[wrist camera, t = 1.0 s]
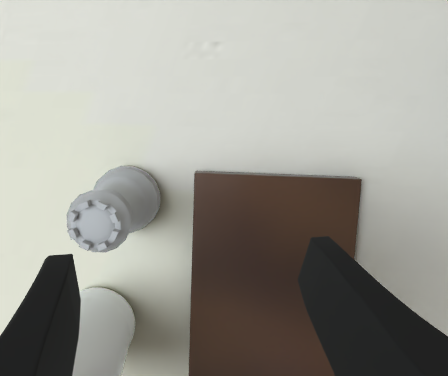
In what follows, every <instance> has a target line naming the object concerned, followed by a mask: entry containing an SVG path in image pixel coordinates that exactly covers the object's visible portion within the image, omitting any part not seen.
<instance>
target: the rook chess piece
mask: <svg viewBox="0 0 448 376" xmlns="http://www.w3.org/2000/svg"><path fill="white" fill-rule="evenodd" d="M159 207H160V191H159V189H158V186H157V184H156V181H155V180H154V179H153V178H152V177H151V176H150V175H149V174H148V173H147V172H146V171H143V170H141V169H139V168H137V167H134V166H119V167H117V168H114V169H111V170H109V171H108V172H107V173H105V174H104V175H103V176H102V177H101V178H100V179H99V180H98V181H97V182H96V184H95V187H94V189H93V190H91V191H89V192H86V193H83V194H81V195H79V196H78V197H77V198H76V199H75V200H74V201H73V202H72V203H71V205H70V208H69V210H68V213H67V228H68V230H67V231H68V233H69V236H70V238H71V240H72V239H74V240H75V241H76V242H77V243H78V244H79V245H80V246H79V247H80V248H83V249H85V250H87V251H88V250H90V251H92V252H107V251H110V250H113V249H115V248H117V247H118V246H119V245H121V244H122V243H123V242H124V241H125V240H126V238H127V235H128V233H132V232H134V231H137V230H140V229H142V228H144V227H145V226H146V225H147V224H148V223H150V222H151V221H152V220H153V219H154V218H155V216H156V214H157V212H158V210H159Z"/></svg>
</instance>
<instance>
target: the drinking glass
mask: <svg viewBox="0 0 448 376" xmlns="http://www.w3.org/2000/svg"><path fill="white" fill-rule="evenodd" d="M79 292H80V298H81V309H80V327H79V338H78V344H77V350H76V356H75V362H74V368H73V374H72V376H122V372H123V368H124V364H125V360H126V356H127V352H128V349H129V346H130V343H131V341H132V338H133V335H134V331H135V317H134V313H133V310H132V308H131V306H130V305H129V303H128V302H127V301H126V300H125V299H124V298H123V297H122V296H121V295H120V294H118V293H116V292H114V291H112V290H110V289H106V288H100V287H94V288H87V289H84V290H81V291H79Z"/></svg>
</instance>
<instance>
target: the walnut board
mask: <svg viewBox="0 0 448 376" xmlns="http://www.w3.org/2000/svg"><path fill="white" fill-rule="evenodd" d="M361 181H362V180H361V179H359V178H357V177H343V176H317V175H291V174H265V173H239V172H212V171H196V172H195V178H194V212H193V247H192V282H191V316H190V351H189V376H335V375H334V372H333V370H332V368H331V365H330V363H329V361H328V359H327V356H326V354H325V352H324V350H323V347H322V345H321V343H320V340H319V338H318V336H317V334H316V331H315V329H314V327H313V324H312V322H311V320H310V317H309V315H308V313H307V310H306V307H305V304H304V301H303V298H302V294H301V290H300V287H299V283H298V277H299V274H300V271H301V267H302V264H303V261H304V258H305V255H306V252H307V249H308V246H309V242H310V239H311V237H323V236H329V237H330V238H331V239H332V240H334V241H335V242H336V243H337V244H338V245H339V246H340V247H341V248H342V249H343V250H344V251H345V252H346V253H348V254H349V255H350V256H351V257H352V258H353V259H354V255H355V244H356V234H357V223H358V213H359V202H360V192H361Z"/></svg>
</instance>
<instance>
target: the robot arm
mask: <svg viewBox="0 0 448 376" xmlns="http://www.w3.org/2000/svg"><path fill="white" fill-rule="evenodd" d="M298 283H299V287H300V290H301V294H302V298H303V301H304V304H305V307H306V310H307V313H308V315H309V317H310V320H311V322H312V324H313V327H314V329H315V331H316V334H317V336H318V338H319V340H320V343H321V345H322V347H323V350H324V352H325V354H326V356H327V359H328V361H329V363H330V365H331V368H332V370H333V372H334V375H335V376H448V336H446V335H445V334H443V333H442V332H441V331H439V330H438V329H436V328H435V327H434V326H432V325H431V324H429V323H428V322H427V321H425V320H424V319H423V318H421V317H420V316H419V315H417V314H416V313H415V312H414V311H412V310H411V309H410V308H409V307H407V306H406V305H405V304H404V303H402V302H401V301H400V300H399V299H398V298H396V297H395V296H394V295H393V294H392V293H390V292H389V291H388V290H387V289H386V288H385V287H383V286H382V285H381V284H380V283H379V282H378V281H377V280H376V279H374V278H373V277H372V276H371V275H370V274H369V273H368V272H367V271H366V270H365V269H364V268H362V267H361V266H360V265H359V264H358V263H357V262H356V261H355V260H354V259H353V258H352V257H351V256H350V255H349V254H348V253H346V252H345V251H344V250H343V249H342V248H341V247H340V246H339V245H338V244H337V243H336V242H335V241H334V240H332V239H331V238H330V237H329V236H323V237H311V239H310V242H309V246H308V249H307V252H306V255H305V258H304V261H303V264H302V267H301V271H300V274H299V277H298ZM80 309H81V298H80V292H79V287H78V282H77V276H76V271H75V265H74V260H73V255H72V254H66V255H52V256H48V257H47V258H46V259H45V261H44V263H43V265H42V267H41V269H40V271H39V273H38V275H37V277H36V279H35V281H34V282H33V284H32V286H31V288H30V289H29V291H28V293H27V295H26V296H25V298H24V300H23V301H22V303H21V305H20V306H19V308H18V309H17V311H16V313H15V314H14V316H13V317H12V319H11V321H10V322H9V324H8V325H7V327H6V328H5V330H4V331H3V333H2V334H1V336H0V376H72V374H73V368H74V362H75V356H76V350H77V344H78V338H79V327H80Z"/></svg>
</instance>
